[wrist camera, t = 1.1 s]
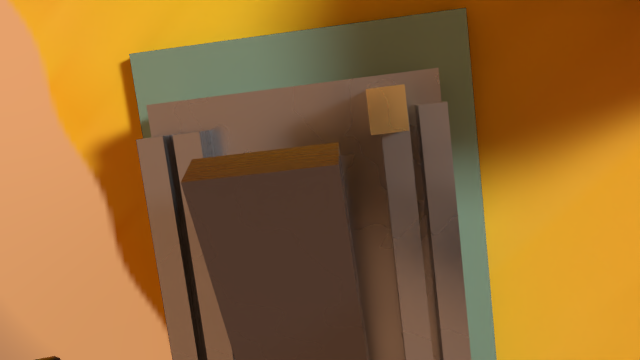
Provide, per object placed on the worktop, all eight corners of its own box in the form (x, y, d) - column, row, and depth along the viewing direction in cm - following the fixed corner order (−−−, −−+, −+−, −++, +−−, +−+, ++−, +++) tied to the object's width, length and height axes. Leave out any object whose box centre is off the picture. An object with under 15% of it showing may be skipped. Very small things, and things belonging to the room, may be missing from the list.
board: (505, 502, 22) (509, 513, 22) (211, 518, 23) (206, 529, 23) (463, 10, 20) (466, 7, 19) (135, 55, 21) (129, 54, 20)
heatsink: (467, 491, 22) (501, 619, 16) (239, 504, 23) (200, 629, 17) (427, 72, 20) (450, 62, 14) (177, 104, 21) (112, 106, 15)
